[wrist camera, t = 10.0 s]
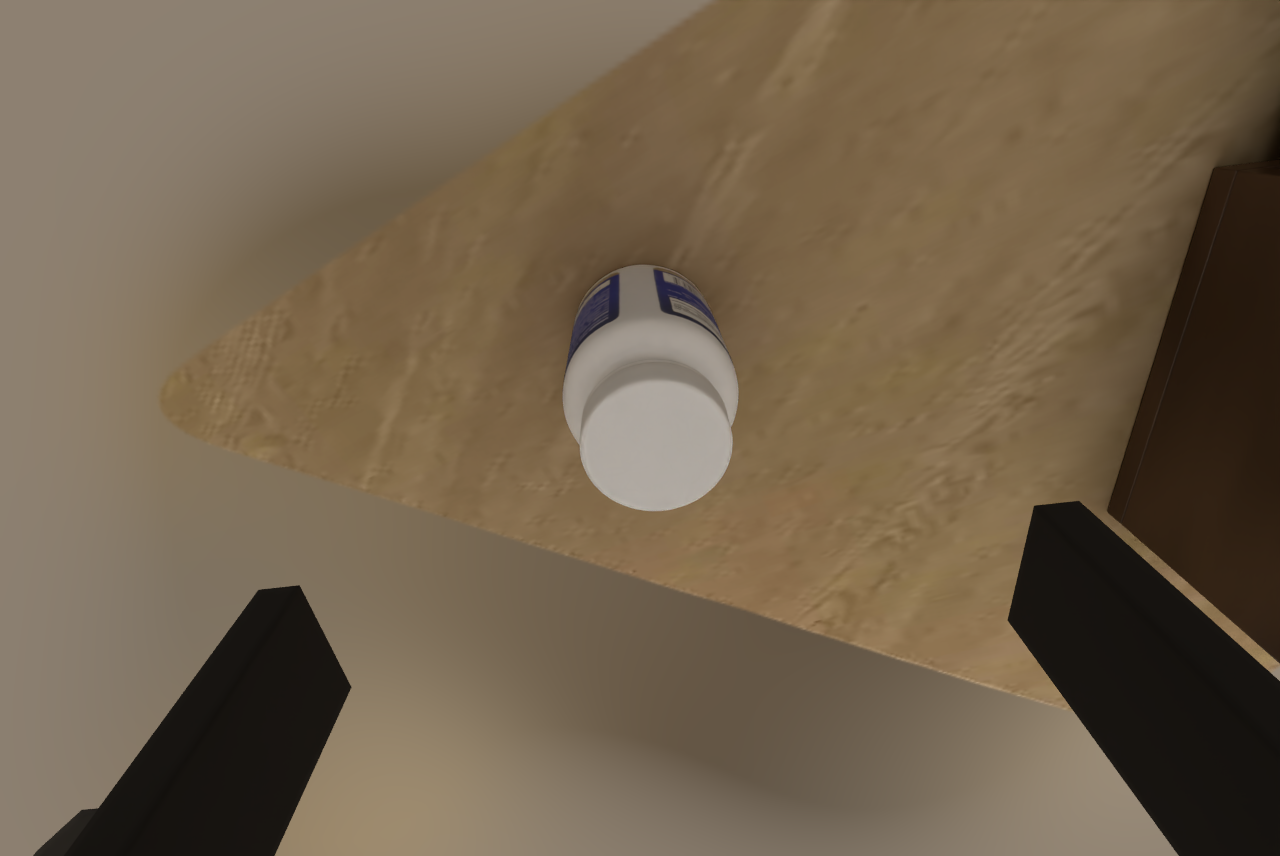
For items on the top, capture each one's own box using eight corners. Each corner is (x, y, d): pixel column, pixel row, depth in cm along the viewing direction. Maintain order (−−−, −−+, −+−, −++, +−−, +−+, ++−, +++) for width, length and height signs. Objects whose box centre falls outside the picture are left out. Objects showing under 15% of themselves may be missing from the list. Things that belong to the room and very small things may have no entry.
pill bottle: (591, 402, 25) (576, 545, 17) (560, 276, 22) (526, 376, 15) (721, 379, 25) (766, 515, 17) (704, 249, 22) (747, 337, 14)
